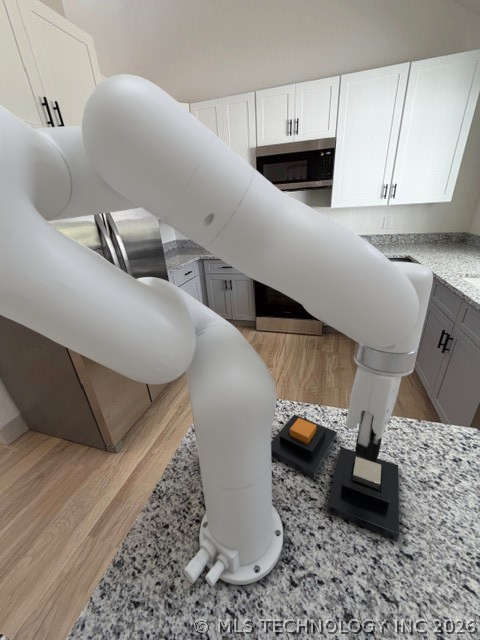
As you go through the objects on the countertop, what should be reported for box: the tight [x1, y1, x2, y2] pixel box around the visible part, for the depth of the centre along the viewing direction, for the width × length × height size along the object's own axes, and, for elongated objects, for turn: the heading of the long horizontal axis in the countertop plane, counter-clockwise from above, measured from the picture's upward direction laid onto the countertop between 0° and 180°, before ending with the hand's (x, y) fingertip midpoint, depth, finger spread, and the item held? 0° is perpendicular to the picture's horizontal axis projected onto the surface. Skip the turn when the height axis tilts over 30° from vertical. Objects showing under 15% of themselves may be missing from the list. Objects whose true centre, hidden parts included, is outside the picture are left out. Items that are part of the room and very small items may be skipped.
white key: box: [352, 457, 381, 492], centre depth 46 cm, size 4×4×2 cm
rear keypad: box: [271, 413, 338, 480], centre depth 56 cm, size 12×10×4 cm
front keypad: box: [326, 446, 400, 543], centre depth 47 cm, size 13×10×4 cm
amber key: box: [290, 418, 317, 444], centre depth 56 cm, size 4×4×2 cm
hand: (366, 454), depth 44 cm, fingers closed
